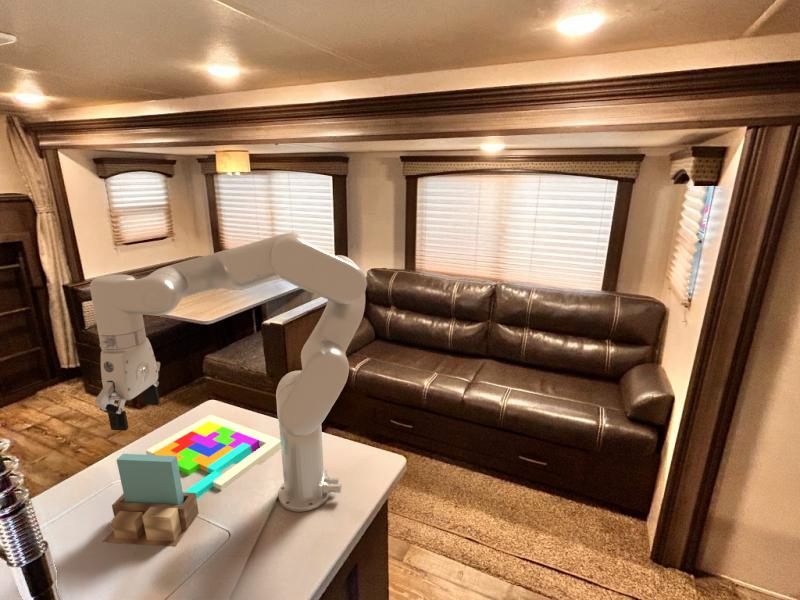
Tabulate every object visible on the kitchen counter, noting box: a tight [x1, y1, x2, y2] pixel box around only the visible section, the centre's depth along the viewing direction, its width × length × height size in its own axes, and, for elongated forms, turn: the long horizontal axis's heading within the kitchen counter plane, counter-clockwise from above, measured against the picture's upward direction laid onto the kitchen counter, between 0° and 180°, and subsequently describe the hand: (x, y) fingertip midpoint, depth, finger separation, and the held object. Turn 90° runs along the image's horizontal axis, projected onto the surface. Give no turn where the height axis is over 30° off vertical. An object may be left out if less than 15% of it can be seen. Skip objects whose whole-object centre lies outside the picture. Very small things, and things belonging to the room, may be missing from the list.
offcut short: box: [111, 511, 145, 539], centre depth 89 cm, size 5×3×4 cm, turn 86°
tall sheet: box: [116, 453, 184, 505], centre depth 91 cm, size 12×2×16 cm, turn 86°
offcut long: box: [142, 507, 181, 541], centre depth 88 cm, size 6×3×6 cm, turn 86°
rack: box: [101, 491, 199, 547], centre depth 90 cm, size 16×9×6 cm, turn 86°
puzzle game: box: [145, 414, 281, 500], centre depth 114 cm, size 30×3×30 cm
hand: (136, 416), depth 86 cm, fingers open, 9 cm apart
